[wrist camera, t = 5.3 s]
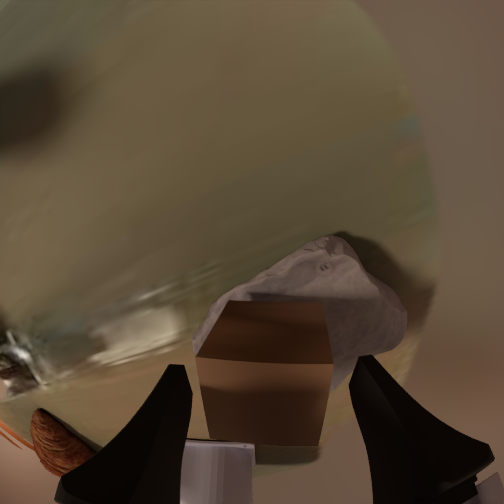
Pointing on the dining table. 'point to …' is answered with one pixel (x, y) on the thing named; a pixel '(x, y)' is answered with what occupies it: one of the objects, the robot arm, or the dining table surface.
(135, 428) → the robot arm
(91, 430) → the dining table surface
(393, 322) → the stone block
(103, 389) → the dining table surface
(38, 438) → the pastry
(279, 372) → the walnut cube
